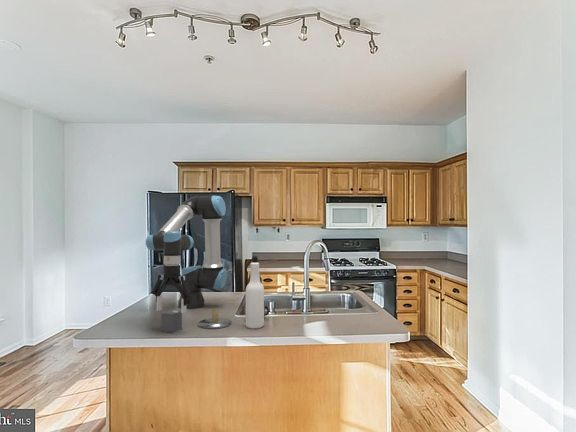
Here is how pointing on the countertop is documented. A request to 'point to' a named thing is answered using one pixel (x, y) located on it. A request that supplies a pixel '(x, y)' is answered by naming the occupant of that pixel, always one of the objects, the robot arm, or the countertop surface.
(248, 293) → the alcohol
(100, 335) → the countertop surface
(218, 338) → the countertop surface
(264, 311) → the mug
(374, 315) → the countertop surface
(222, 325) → the hub
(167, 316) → the knob
